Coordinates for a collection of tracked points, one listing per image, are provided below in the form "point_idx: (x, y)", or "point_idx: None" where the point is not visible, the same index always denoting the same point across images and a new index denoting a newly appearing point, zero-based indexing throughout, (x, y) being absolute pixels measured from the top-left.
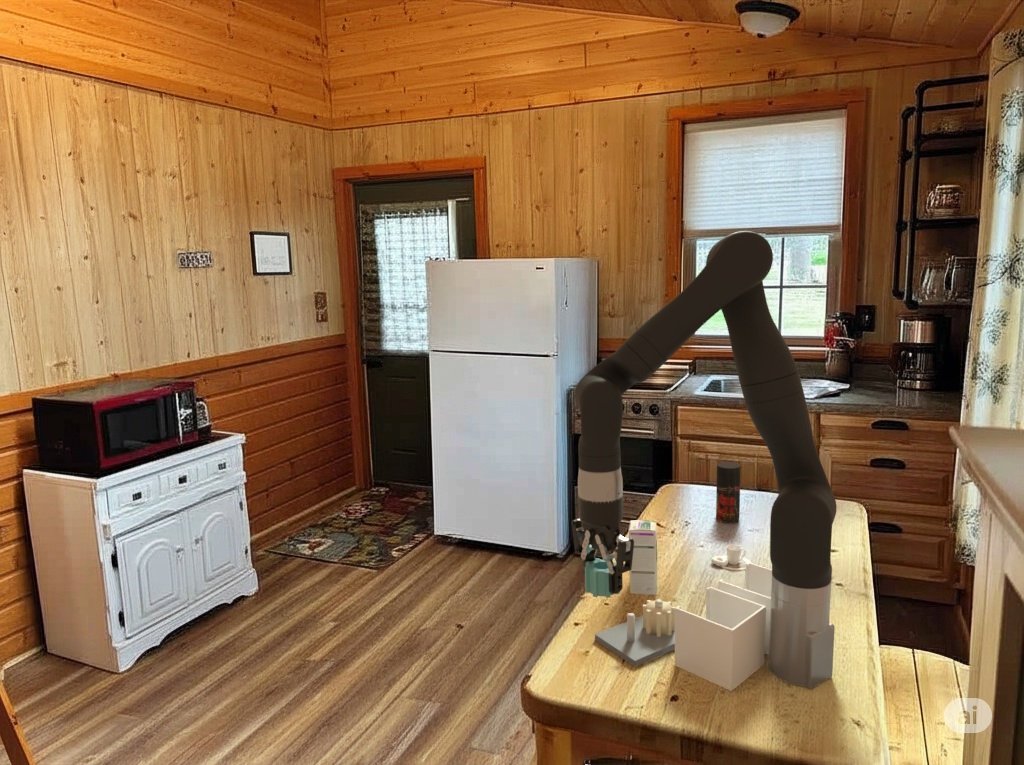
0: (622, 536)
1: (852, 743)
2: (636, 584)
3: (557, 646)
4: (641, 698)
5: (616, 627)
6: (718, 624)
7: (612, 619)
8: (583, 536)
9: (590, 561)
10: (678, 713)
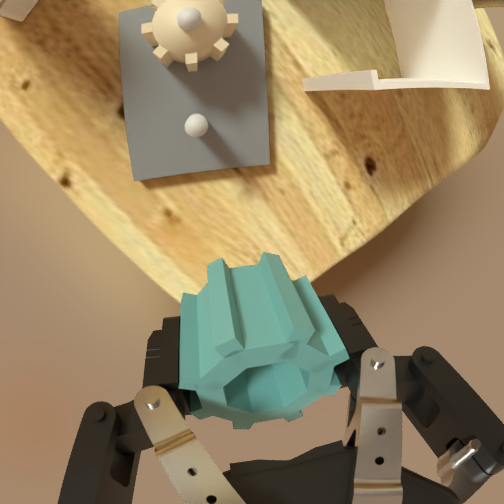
0: (472, 493)
1: (501, 81)
2: (20, 5)
3: (127, 253)
4: (340, 210)
5: (131, 121)
6: (470, 86)
7: (81, 99)
8: (114, 488)
9: (186, 398)
10: (393, 187)
